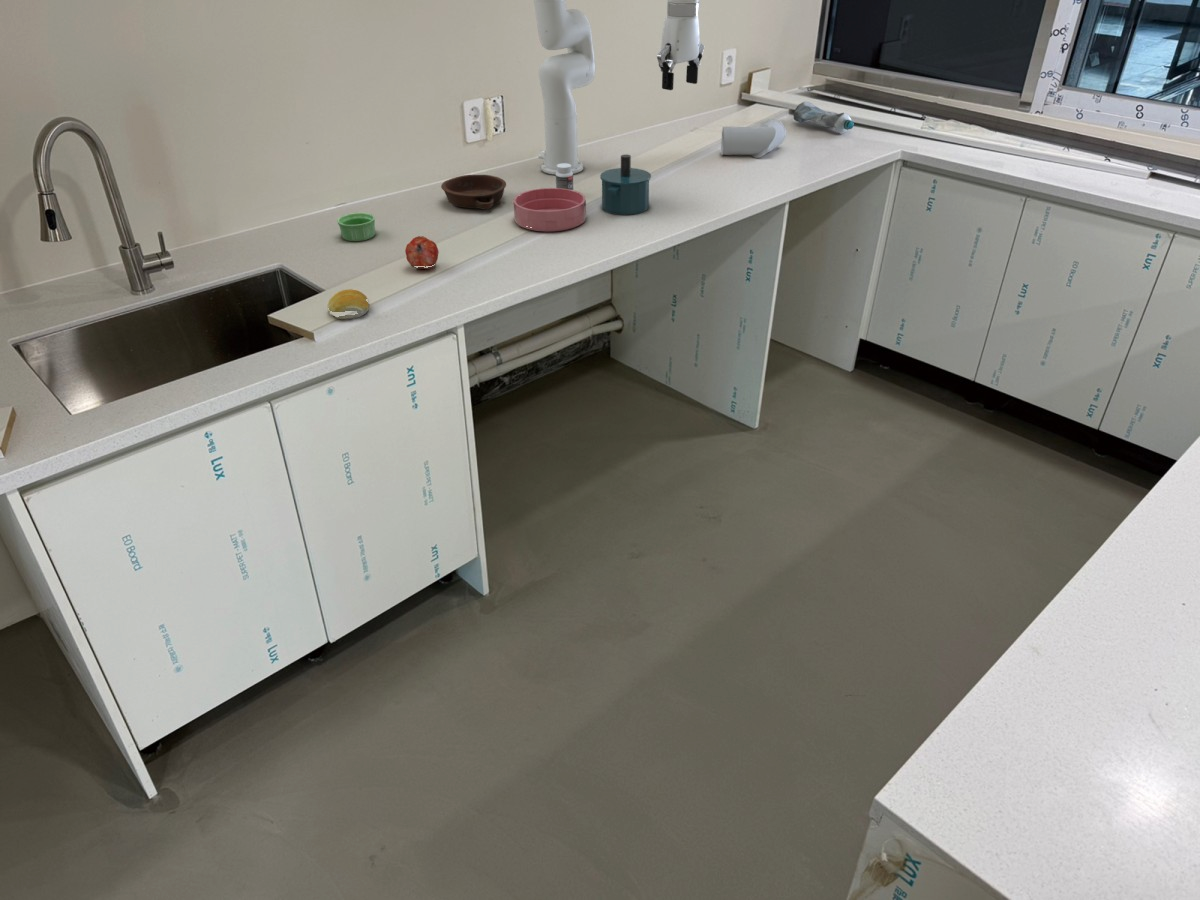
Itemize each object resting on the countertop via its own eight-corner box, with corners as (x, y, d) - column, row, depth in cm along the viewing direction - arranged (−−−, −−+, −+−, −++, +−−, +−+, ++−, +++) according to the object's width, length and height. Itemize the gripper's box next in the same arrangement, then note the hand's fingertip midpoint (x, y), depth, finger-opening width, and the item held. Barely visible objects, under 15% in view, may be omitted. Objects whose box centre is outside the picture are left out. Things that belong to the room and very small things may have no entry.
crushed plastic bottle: (785, 122, 297) (832, 137, 278) (789, 101, 293) (836, 114, 275) (815, 121, 302) (862, 136, 284) (818, 100, 299) (867, 113, 280)
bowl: (500, 222, 217) (498, 201, 214) (548, 203, 229) (547, 183, 226) (552, 238, 207) (551, 216, 204) (600, 218, 219) (600, 197, 216)
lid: (591, 183, 219) (591, 159, 216) (612, 169, 229) (612, 146, 225) (639, 190, 214) (639, 165, 211) (658, 175, 224) (659, 152, 221)
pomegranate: (410, 271, 197) (395, 260, 187) (417, 241, 197) (402, 228, 187) (440, 277, 196) (426, 266, 186) (447, 246, 196) (434, 233, 186)
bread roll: (367, 299, 179) (364, 281, 177) (371, 317, 172) (368, 299, 170) (327, 304, 177) (323, 286, 175) (329, 322, 170) (325, 304, 168)
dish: (454, 219, 219) (452, 200, 217) (434, 194, 236) (432, 176, 233) (518, 209, 225) (517, 191, 222) (494, 186, 242) (492, 168, 239)
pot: (590, 214, 221) (589, 184, 217) (617, 194, 235) (617, 165, 230) (633, 220, 217) (634, 190, 213) (658, 200, 230) (659, 170, 226)
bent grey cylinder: (766, 160, 255) (791, 145, 269) (762, 124, 250) (788, 110, 264) (713, 165, 265) (740, 150, 279) (709, 130, 260) (736, 116, 274)
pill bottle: (571, 199, 232) (570, 168, 227) (554, 198, 233) (553, 167, 228) (575, 193, 236) (574, 163, 231) (558, 192, 236) (557, 162, 232)
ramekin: (343, 230, 213) (340, 213, 211) (379, 228, 214) (376, 211, 211) (337, 243, 206) (334, 225, 203) (374, 241, 207) (372, 224, 204)
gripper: (692, 5, 210) (689, 78, 220) (647, 13, 200) (646, 89, 210) (716, 8, 206) (712, 82, 216) (672, 16, 196) (669, 94, 206)
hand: (679, 86), depth 213 cm, fingers open, 9 cm apart
